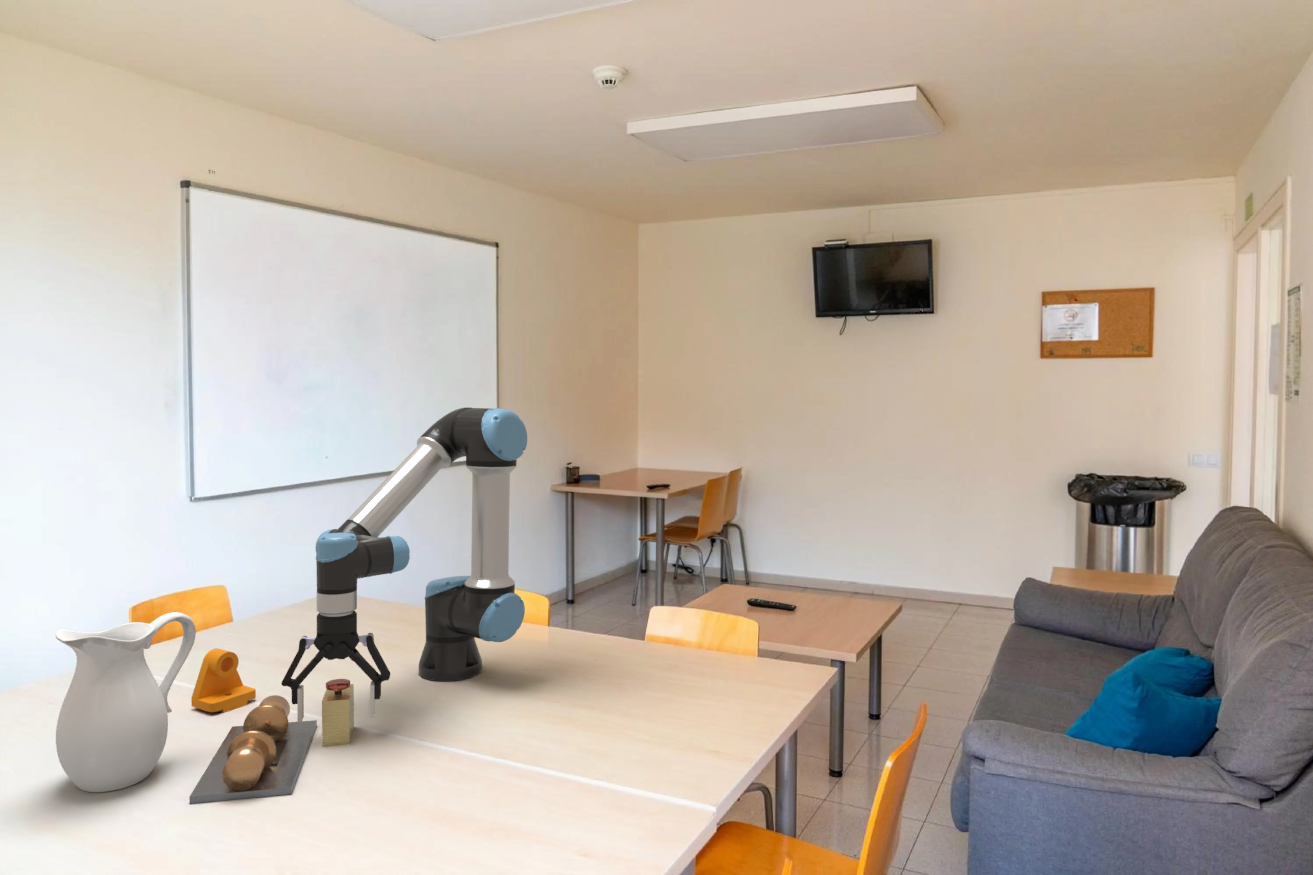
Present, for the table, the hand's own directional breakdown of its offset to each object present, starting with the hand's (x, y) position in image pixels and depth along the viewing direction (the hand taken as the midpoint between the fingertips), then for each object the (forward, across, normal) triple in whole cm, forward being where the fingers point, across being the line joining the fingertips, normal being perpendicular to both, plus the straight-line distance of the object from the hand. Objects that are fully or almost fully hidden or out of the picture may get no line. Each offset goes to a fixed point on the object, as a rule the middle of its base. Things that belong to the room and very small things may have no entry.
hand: (337, 717), depth 177 cm
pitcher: (+5, +34, +9) cm, 35 cm away
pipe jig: (+4, +13, +9) cm, 16 cm away
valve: (+4, 0, 0) cm, 4 cm away
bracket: (+4, +26, -23) cm, 35 cm away
